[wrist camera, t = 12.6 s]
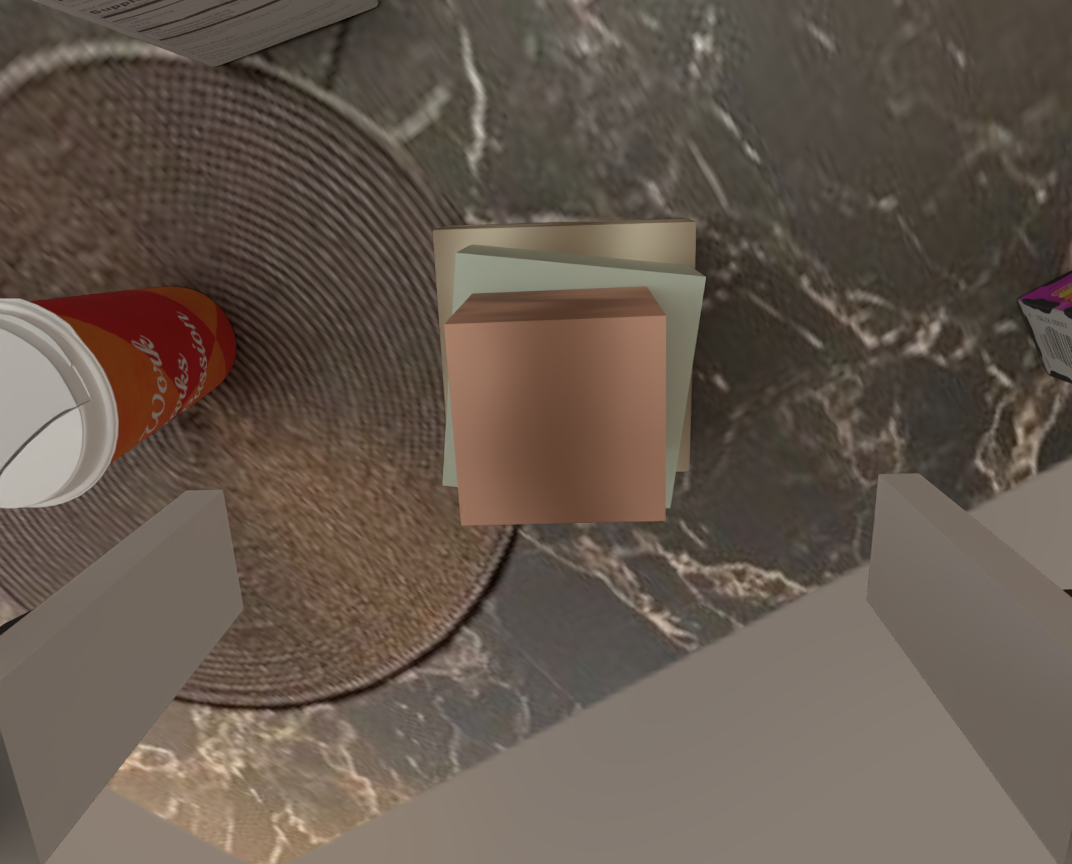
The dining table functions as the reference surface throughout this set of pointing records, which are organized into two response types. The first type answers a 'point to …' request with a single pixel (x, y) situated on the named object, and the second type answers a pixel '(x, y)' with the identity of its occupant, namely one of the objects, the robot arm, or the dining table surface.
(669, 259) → the tower base
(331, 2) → the supplement box
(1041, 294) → the candy bar box
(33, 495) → the coffee cup
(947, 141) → the dining table surface
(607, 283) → the tower top
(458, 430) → the terracotta cube
